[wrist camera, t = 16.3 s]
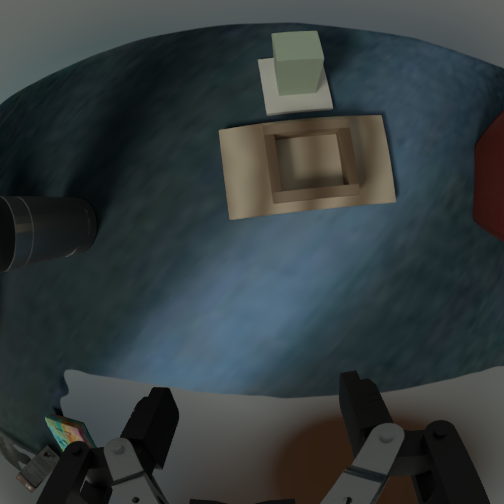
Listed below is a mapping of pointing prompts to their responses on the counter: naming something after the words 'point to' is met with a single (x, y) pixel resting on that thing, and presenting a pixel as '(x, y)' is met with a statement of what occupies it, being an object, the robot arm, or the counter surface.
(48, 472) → the coffee box
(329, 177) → the puzzle board
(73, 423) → the puzzle game
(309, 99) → the white tile
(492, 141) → the plant pot
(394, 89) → the counter surface
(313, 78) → the sage block
